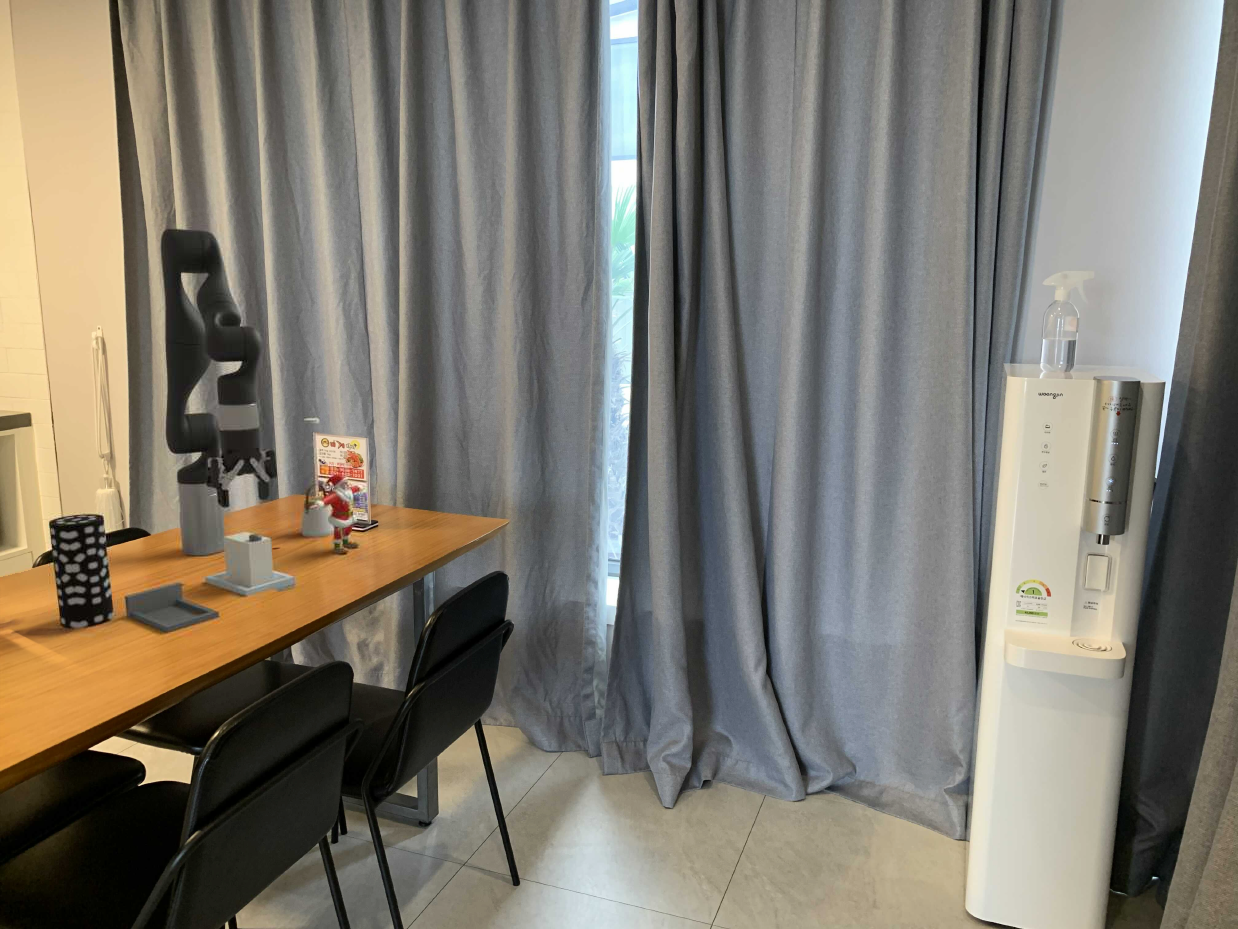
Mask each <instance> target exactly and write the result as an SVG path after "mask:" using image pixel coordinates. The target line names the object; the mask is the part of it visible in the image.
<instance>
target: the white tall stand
mask: <svg viewBox="0 0 1238 929" xmlns="http://www.w3.org/2000/svg"><path fill="white" fill-rule="evenodd" d="M303 422H304V424H308V425H309V424H311V425H314V424H320V418H316V417H313V418H304V419H303ZM313 432H314V431H313V429H311V436H312V438H311V439H312V440H311V441H314V435H313V434H314V433H313ZM312 453H313V458H315V452H314V447H312ZM315 468H316V467H315V464H313V472H314V473H313V474H314V476H316V471H315ZM316 486H319V487H320V489H321V490H322V493H323V494H322V495H323V497H317V496H316V497H312V494H311V493H312V491H313V489H314V488H315V487H316ZM325 496H327V491H326V489H325V486H324V485H321V484H319V483H318V484H317V483H316V481H314V483H313V484H311V485H310V486H309V487H308V488H307V490H306V493H305V500H304V503H303V508H302V509H303V510H302V511H303V512H302V519H301V520H302V521H301V527H300V528H301V529H300V531H301V535H302V536H303V537H306V538H321V537H327V536H331V535H332V534H333V535H334V526H333V525H331V524H330V523H329V521H328V517H329V516H330V515H331V514H332V511H331V505H330V504H329V505H325V506H324V507H323V508H321V509H317V510H316V508H314V509H313V508H312V509H311V508H310V507H311V506H312V505H314V503H315V502H316V501H319V500H320V499H322V498H324V497H325Z"/></svg>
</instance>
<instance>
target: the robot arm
mask: <svg viewBox="0 0 1238 929" xmlns="http://www.w3.org/2000/svg"><path fill="white" fill-rule="evenodd" d="M160 254H161V255H160V256H161V267H162V278H163V287H164V301H165V302H164V304H165V308H164V310H165V324H164V325H165V331H164V333H165V334H164V335H165V336H164V338H165V339H164V342H165V360H166V361H165V362H166V377H167V378H166V382H167V383H166V384H167V385H166V386H167V389H166V390H167V394H166V413H165V438H166V440H165V441H166V443H167V445H166V446H167V448H168V450H169V451H170V452H171V453H172V454H173V455H174V454H175V455H187V454H196V453H201V454H200V456H199V457H198V458H197V459H196V460H194V461H193V462H191V463H190V464H187V465H186V466H183V467H182V468H180V469H178V470H177V472H176V477H177V478H176V480H177V491H178V501H179V510H180V511H179V522H180V532H181V533H180V535H181V543H182V544H181V545H182V546H181V547H182V550H183V554H185V555H187V556H206V555H208V556H209V555H214V554H217V553H221V552H223V551H225V549H224V537H225V536H226V529H225V517H224V516H225V515H224V509H225V508H226V509H228V508H229V507H230V495H229V494H230V493H229V489H228V488H229V486H230V484H231V482H232V481H234V480H235V478H236V477H241V476H244V475H253V476H255V478H256V479H257V480H258V481H257V493H258V499H259V500H262V501H266V500H269V498H268V497H270V483H269V482H270V481H271V479H273V478H274V479H275V478H277V476H278V472H277V471H278V470H277V463H276V453H275V450H273V449H268V448H264V449H263V450H260V447H261V434H260V419H259V418H260V417H259V411H258V406H257V393H256V392H257V391H256V379H257V372H258V368H259V367H258V366H259V363H260V358H261V355H262V350H263V339H262V336H261V334H260V333H259V331H258V330H257V329H256V328H254V326H253V327H252V326H250V325H249V326H248V325H245V326H244V325H243V326H242V325H241V324H242V316H241V313H240V311H239V308H238V307H237V304H236V302H235V300H234V298H233V295H232V293H231V290H230V286H229V281H228V275H227V273H226V272H227V271H226V267H225V263H224V259H223V255H222V252H221V247H220V244H219V241H218V240H217V238H216V237H215V234H213V233H212V232H209V231H205V230H197V229H182V228H166V229H165V230H164V231H163V232H162V235H161V238H160ZM182 274H197V275H198V274H200V275H203V274H208V275H207V277H206V279H204V281H203V283H202V284H201V285H200V287H199V289H198V290H197V291H198V292H197V294H196V304H197V309H198V310H197V309H196V307H195V306H194V305H193V303H192V301H191V299H190V298H189V296H188V295H187V293H186V290H185V287H184V285H183V280H182ZM211 361H214V362H217V363H230V362H231V363H235V362H237V363H238V362H241V363H240V364H241V365H240V366H239V368H238V369H237V370H235V371H232V372H228V373H224V374H222V375H219V376H218V377H217V381H216V388H217V402H218V406H217V407H218V410H217V417H216V416H215V415H214V413H212V412H196V413H194V412H193V413H186V409H187V404H188V401H189V398H190V397H191V394H192V392H193V390H194V389H195V388H196V386H197V384H198V383H199V382H200V380H201V379H202V378H203V376H204V375H205V373H206V372H207V370H208V369H209V367H210V365H211ZM220 451H221V452H220ZM261 460H262V461H263V465H264V466H263V467H264V468H263V467H262V465H261V464H259V463H261V462H260V461H261ZM221 465H222V466H223V468H221Z"/></svg>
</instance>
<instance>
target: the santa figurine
mask: <svg viewBox="0 0 1238 929" xmlns="http://www.w3.org/2000/svg"><path fill="white" fill-rule="evenodd" d="M348 478H349V477H348V476H346V475H345V474H341V473H336V474H333V475H331V476H330V477H329V478H328V479H327V480H326V483H324V484H323V487H324V488H325V487H327V486H328V484H329V483H331V485H332V487H333V490H332V491H331V492H329V493H328V494H326V496H325V497H324V496H323V498H322V499H320V500H319V501H316V502H315V503H314V505H312V506H311V507H310V508H311V509H312V508H313V509H314V508H316V510H317V509H321V508H323V507H324V506H325V505H329V506H330V508H332V511H331V515H330V516H329V517H328V521H329V523H330V524H331V525H333V526H334V533H333V537H332V543H333V553H334V554H337V555H343V554H346V553H349V549H354V548H358V547H359V546H360V543H359V542H358V541H353V540H352V539H351V540H350V541H349V539H350V538H351V535H350V534H351V533H352V531H353V528H354V524H355V523H357V520H358V518H357V515H355V513H354V503H355V501H354V499H355V496H354V494H355V493H361V492H362V491H363V490H365V489H366V486H365V485H359V484H354V485H352V486H350V485H351V484H350V483H349V479H348ZM341 543H342V544H341Z"/></svg>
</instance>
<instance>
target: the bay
mask: <svg viewBox="0 0 1238 929" xmlns="http://www.w3.org/2000/svg"><path fill="white" fill-rule="evenodd" d="M124 600H125V602H124V603H125V612H126V618H129V619H131V620H134V621H137V622H139V623H141V624H144V625H146V626H149V627H150V628H153V629H155V630H158V631H160V632H162V633H165V634H169V633H172V632H175V631H179V630H182V629H185V628H188V627H191V626H195V625H198V624H201V623H204V622H207V621H212V620H214V619H217V618H220V612H219V611H217V610H215V609H212V608H210V607H206V606H204V605H201V604H199V603H196V602H194V601H191V600H188V599H185V598H184V597H183V585H182V582H180V581H177V582H173V583H169V584H165V585H162V586H157V587H154V588H150V589H146V590H143V591H139V592H135V593H131V594H127V595H125V596H124Z"/></svg>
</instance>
